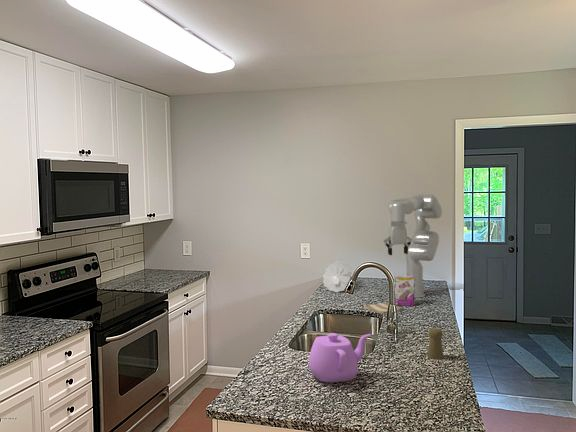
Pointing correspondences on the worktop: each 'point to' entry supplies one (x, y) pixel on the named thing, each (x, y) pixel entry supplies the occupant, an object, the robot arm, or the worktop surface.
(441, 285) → the worktop surface
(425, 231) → the robot arm
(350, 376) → the teapot
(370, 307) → the maple board
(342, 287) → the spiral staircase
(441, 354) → the brown pepper mill
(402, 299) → the candy bar box
